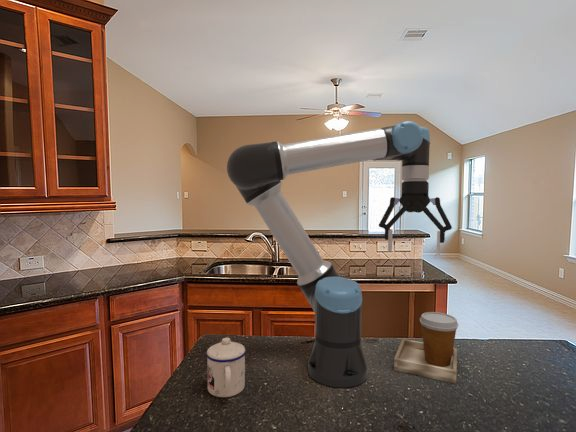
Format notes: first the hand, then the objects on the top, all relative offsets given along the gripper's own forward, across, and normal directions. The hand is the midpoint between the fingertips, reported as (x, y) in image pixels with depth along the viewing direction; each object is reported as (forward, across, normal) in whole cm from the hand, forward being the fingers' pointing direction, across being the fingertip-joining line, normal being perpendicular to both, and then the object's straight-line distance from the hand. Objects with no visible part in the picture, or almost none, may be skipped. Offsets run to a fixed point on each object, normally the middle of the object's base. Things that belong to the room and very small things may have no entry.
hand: (413, 252), depth 102 cm
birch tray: (+29, -5, +10) cm, 31 cm away
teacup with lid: (+29, +35, +45) cm, 64 cm away
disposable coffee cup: (+28, -8, +9) cm, 30 cm away
